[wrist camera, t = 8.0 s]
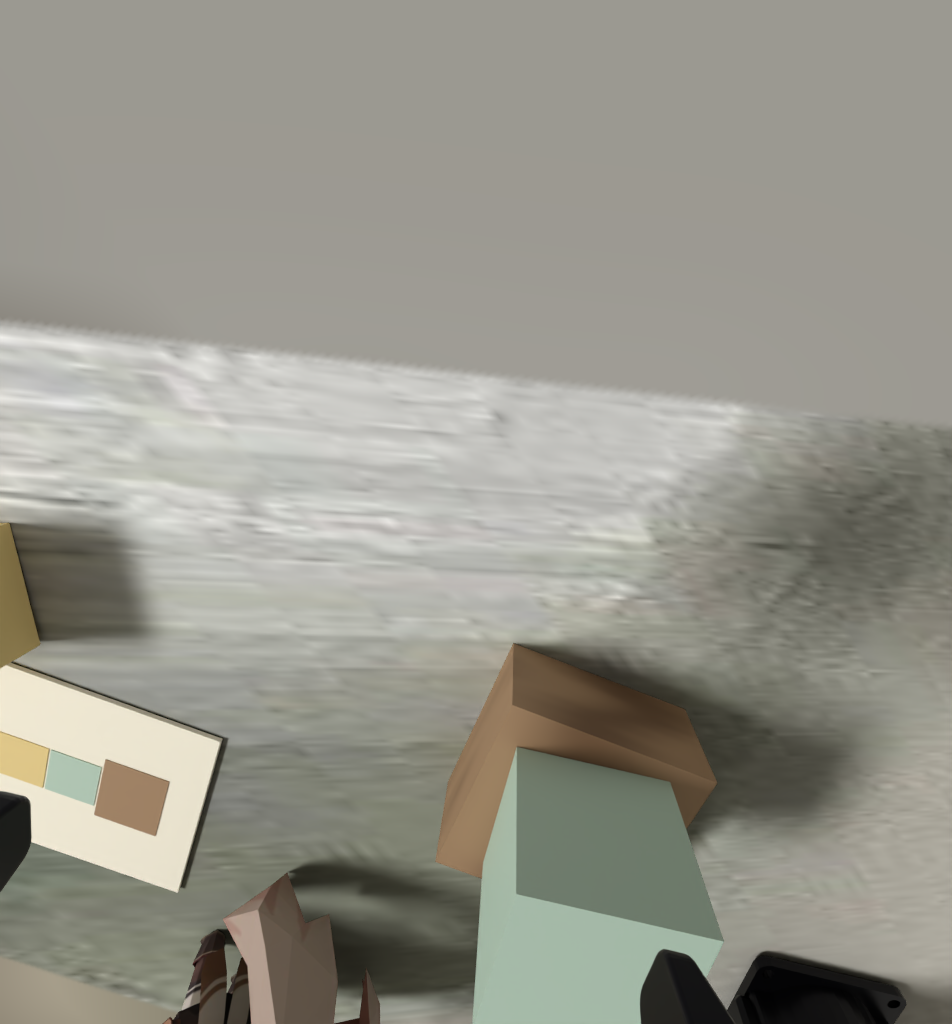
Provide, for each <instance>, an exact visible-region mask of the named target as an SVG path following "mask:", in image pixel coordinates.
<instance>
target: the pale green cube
mask: <svg viewBox="0 0 952 1024" xmlns="http://www.w3.org/2000/svg"><path fill="white" fill-rule="evenodd" d="M723 943H724V940H723V937H722V934H721V931H720V928H719V925H718V922H717V919H716V917H715V914H714V911H713V908H712V905H711V902H710V899H709V896H708V893H707V890H706V887H705V884H704V881H703V878H702V875H701V872H700V869H699V866H698V863H697V860H696V857H695V854H694V851H693V848H692V845H691V842H690V839H689V836H688V833H687V830H686V827H685V825H684V822H683V819H682V816H681V813H680V810H679V807H678V804H677V801H676V798H675V795H674V792H673V789H672V786H671V783H670V782H668V781H664V780H660V779H655V778H651V777H647V776H642V775H638V774H633V773H629V772H625V771H620V770H616V769H612V768H607V767H603V766H598V765H594V764H590V763H585V762H581V761H577V760H572V759H568V758H563V757H559V756H555V755H550V754H546V753H542V752H537V751H533V750H528V749H524V748H520V747H517V748H516V751H515V755H514V758H513V761H512V765H511V768H510V772H509V775H508V779H507V782H506V786H505V789H504V792H503V796H502V799H501V803H500V806H499V810H498V813H497V816H496V820H495V823H494V827H493V830H492V834H491V837H490V841H489V844H488V847H487V851H486V854H485V858H484V861H483V871H482V886H481V901H480V916H479V931H478V946H477V961H476V976H475V991H474V1006H473V1021H472V1024H641V1018H640V994H641V989H642V986H643V983H644V981H645V979H646V977H647V975H648V972H649V970H650V968H651V966H652V964H653V961H654V959H655V957H656V955H657V953H658V952H659V951H660V950H662V949H667V950H672V951H676V952H680V953H684V954H687V955H689V956H690V957H691V958H692V959H693V960H694V961H695V962H696V964H697V965H698V967H699V968H700V970H701V971H702V973H703V975H704V976H705V978H706V977H707V975H708V973H709V971H710V969H711V967H712V965H713V963H714V961H715V959H716V957H717V955H718V953H719V951H720V949H721V947H722V945H723Z"/></svg>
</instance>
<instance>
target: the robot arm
mask: <svg viewBox="0 0 952 1024" xmlns="http://www.w3.org/2000/svg"><path fill="white" fill-rule="evenodd" d="M31 838H32V834H31V803H30V800H29V799H28V798H27V797H26V796H22V795H18V794H14V793H10V792H6V791H0V892H1V890H2V889H3V888H4V886H5V885H6V883H7V882H8V881H9V879H10V878H11V876H12V875H13V874H14V872H15V871H16V869H17V868H18V867H19V865H20V864H21V862H22V861H23V859H24V858H25V856H26V854H27V852H28V850H29V847H30V844H31ZM905 1006H906V1000H905V999H904V997H903V995H902V994H901V992H900V990H899V989H898V988H896V987H894V986H890V985H886V984H882V983H878V982H874V981H870V980H865V979H861V978H857V977H853V976H849V975H844V974H840V973H836V972H832V971H828V970H823V969H819V968H815V967H811V966H807V965H803V964H798V963H794V962H790V961H786V960H782V959H777V958H773V957H769V956H761V957H758V958H756V959H755V960H754V961H753V963H752V965H751V967H750V969H749V970H748V972H747V974H746V976H745V978H744V980H743V982H742V983H741V985H740V987H739V989H738V991H737V993H736V995H735V997H734V998H733V1000H732V1002H731V1004H730V1006H729V1008H728V1010H726V1008H725V1007H724V1005H723V1004H722V1002H721V1001H720V999H719V998H718V996H717V995H716V993H715V991H714V990H713V988H712V987H711V985H710V984H709V982H708V981H707V979H706V978H705V976H704V975H703V973H702V971H701V970H700V968H699V967H698V965H697V964H696V962H695V961H694V960H693V959H692V958H691V957H690V956H689V955H687V954H684V953H680V952H676V951H672V950H667V949H662V950H660V951H659V952H658V953H657V955H656V957H655V959H654V961H653V964H652V966H651V968H650V970H649V972H648V975H647V977H646V979H645V981H644V983H643V986H642V989H641V994H640V1018H641V1024H894V1023H895V1021H896V1020H897V1018H898V1017H899V1015H900V1014H901V1012H902V1011H903V1009H904V1008H905Z"/></svg>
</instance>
